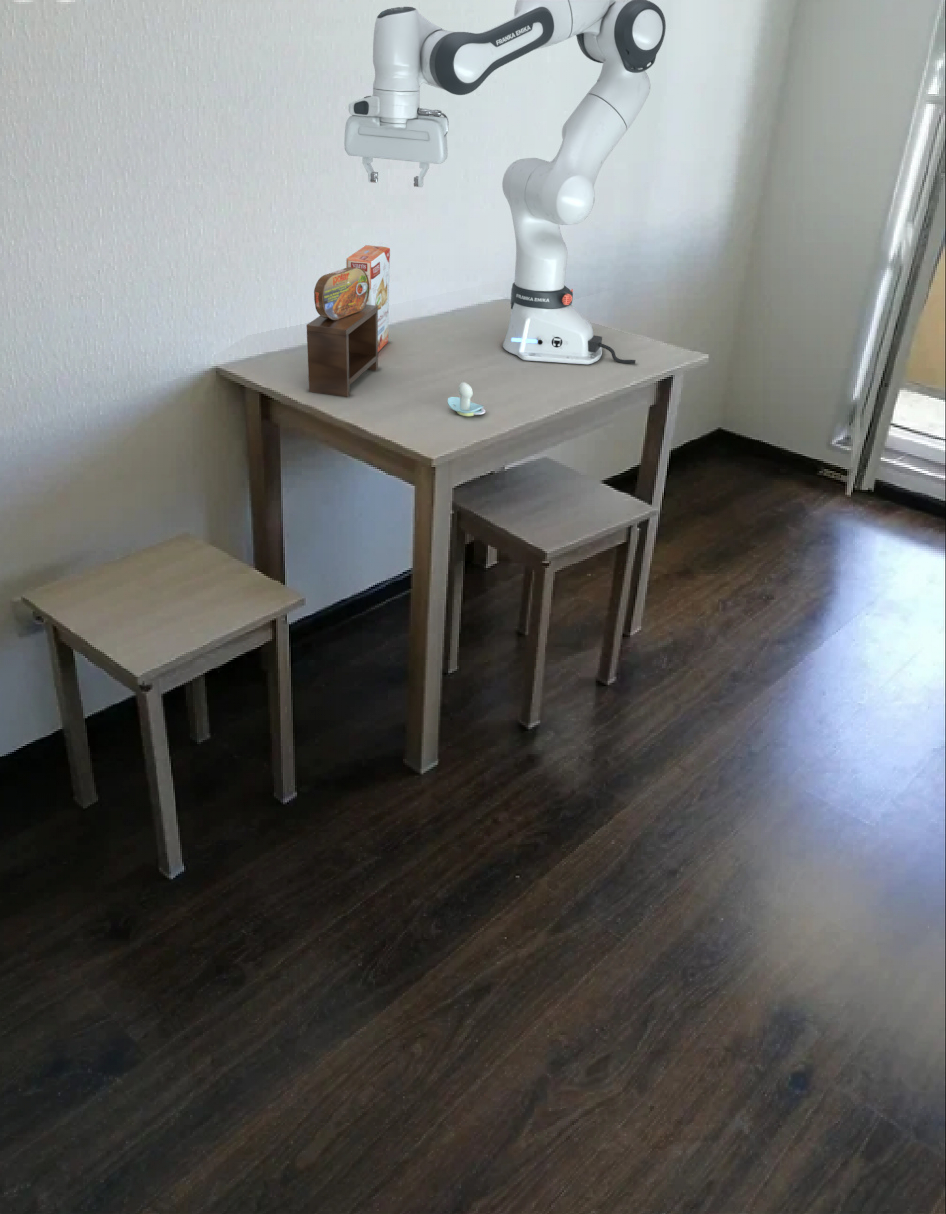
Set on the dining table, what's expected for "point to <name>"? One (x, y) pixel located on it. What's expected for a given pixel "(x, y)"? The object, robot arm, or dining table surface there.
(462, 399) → the pacifier
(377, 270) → the cracker box
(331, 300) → the tin
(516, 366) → the dining table surface
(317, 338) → the brown hollow box
